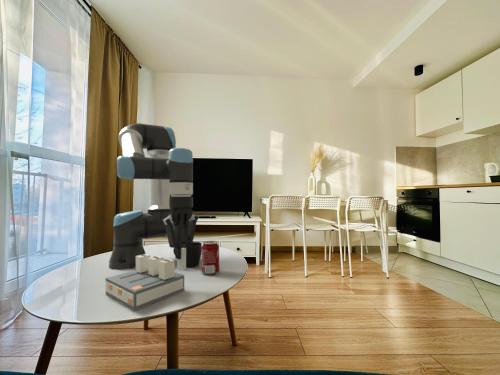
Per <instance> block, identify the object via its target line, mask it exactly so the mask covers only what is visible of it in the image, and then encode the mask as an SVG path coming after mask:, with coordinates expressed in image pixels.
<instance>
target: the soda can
mask: <svg viewBox="0 0 500 375" xmlns="http://www.w3.org/2000/svg"><path fill="white" fill-rule="evenodd" d="M219 272H220V245H219V244H218V241H216V240H205V241H203V242H202V252H201V273H202V274H204V275H205V276H214V275H216V274H218V273H219Z"/></svg>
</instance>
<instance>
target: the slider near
mask: <svg viewBox="0 0 500 375" xmlns="http://www.w3.org/2000/svg"><path fill="white" fill-rule="evenodd" d="M174 272H175V259H172V258H167V259H164V258H163V260H162V261H159V278H161V279H164V280H165V279H168V278H171V277H174Z"/></svg>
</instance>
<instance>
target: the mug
mask: <svg viewBox="0 0 500 375" xmlns="http://www.w3.org/2000/svg"><path fill="white" fill-rule="evenodd" d="M189 246H190V247H189V248H188V252H187V253H188V256H187V257H186V269H187V268H190V269H193V268H197V267H199V265H200V262H201V259H202V246H203V242H200V241H193V244H192V245H189ZM172 249H173V251H172V252H173V255H174V256H175V248H172Z"/></svg>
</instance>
